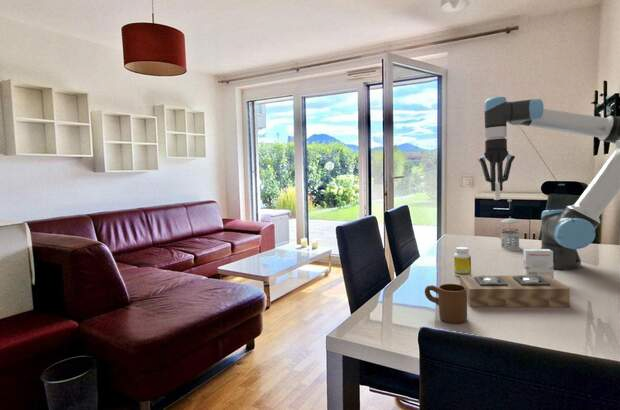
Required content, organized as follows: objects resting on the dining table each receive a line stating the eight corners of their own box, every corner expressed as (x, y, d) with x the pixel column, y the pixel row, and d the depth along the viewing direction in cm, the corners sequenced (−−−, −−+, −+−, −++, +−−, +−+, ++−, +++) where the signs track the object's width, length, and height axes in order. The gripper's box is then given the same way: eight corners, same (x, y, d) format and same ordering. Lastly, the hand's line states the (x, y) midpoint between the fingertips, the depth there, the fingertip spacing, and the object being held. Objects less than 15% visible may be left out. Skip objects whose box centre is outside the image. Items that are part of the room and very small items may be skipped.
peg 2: (535, 293, 121) (535, 276, 120) (541, 297, 116) (541, 280, 116) (520, 293, 121) (520, 276, 121) (525, 297, 117) (525, 280, 117)
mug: (420, 318, 110) (419, 287, 109) (430, 309, 116) (429, 280, 115) (462, 326, 102) (461, 293, 101) (470, 317, 108) (469, 285, 107)
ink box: (549, 279, 136) (549, 248, 135) (553, 284, 131) (553, 251, 130) (523, 279, 139) (523, 248, 137) (526, 283, 134) (526, 251, 133)
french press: (525, 250, 181) (525, 199, 179) (501, 251, 181) (500, 200, 179) (515, 246, 191) (514, 197, 189) (492, 247, 191) (491, 199, 189)
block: (548, 291, 124) (548, 273, 124) (569, 306, 111) (569, 286, 110) (460, 291, 130) (459, 274, 129) (469, 306, 116) (469, 287, 115)
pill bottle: (472, 277, 144) (472, 249, 143) (456, 277, 146) (455, 249, 145) (469, 272, 151) (468, 246, 150) (453, 273, 152) (452, 246, 151)
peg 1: (495, 293, 123) (495, 276, 122) (500, 297, 119) (499, 280, 118) (481, 293, 124) (481, 277, 123) (485, 297, 119) (484, 281, 119)
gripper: (510, 138, 146) (511, 197, 148) (475, 140, 148) (476, 199, 151) (517, 136, 139) (518, 199, 141) (480, 139, 141) (481, 201, 143)
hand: (496, 199), depth 146 cm, fingers closed
